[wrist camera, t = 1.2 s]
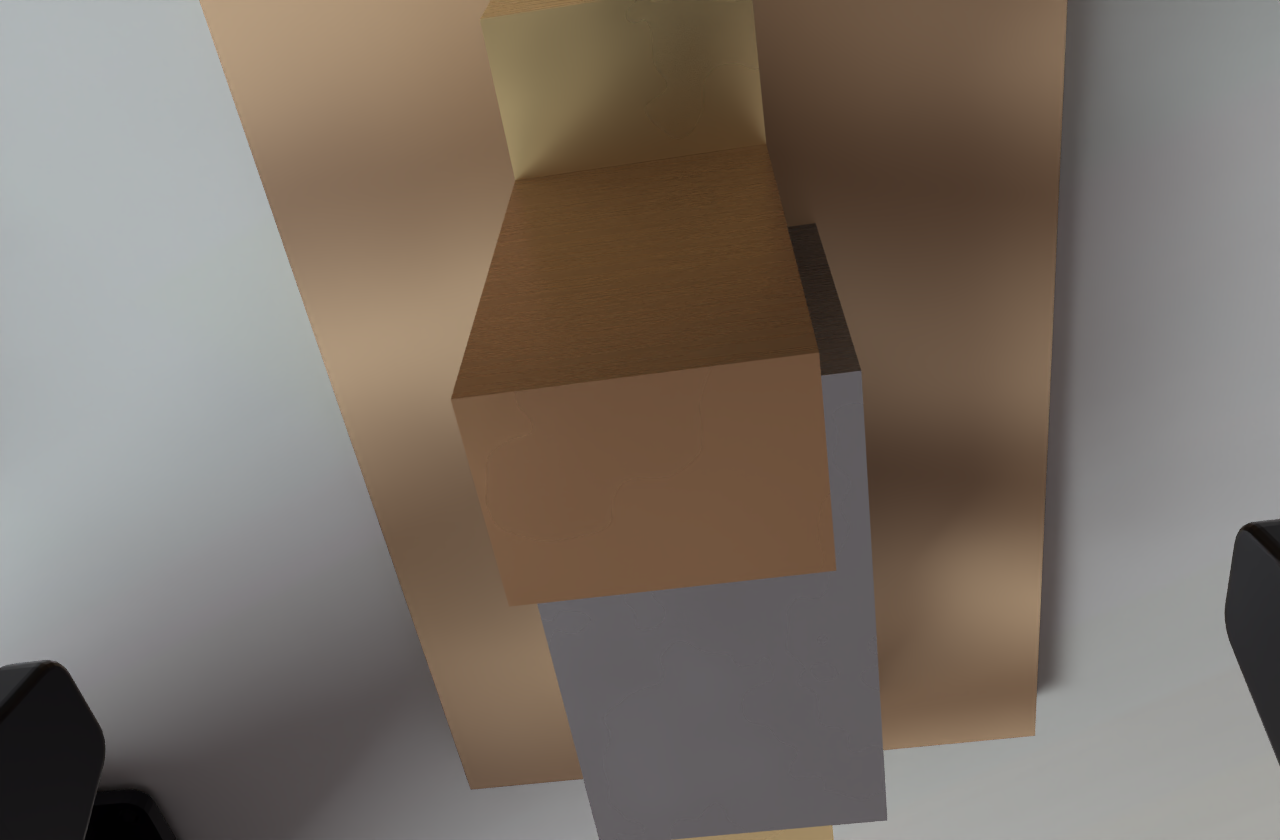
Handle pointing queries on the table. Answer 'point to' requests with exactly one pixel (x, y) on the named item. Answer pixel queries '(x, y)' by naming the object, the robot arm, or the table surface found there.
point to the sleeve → (740, 663)
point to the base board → (810, 193)
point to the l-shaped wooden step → (642, 317)
